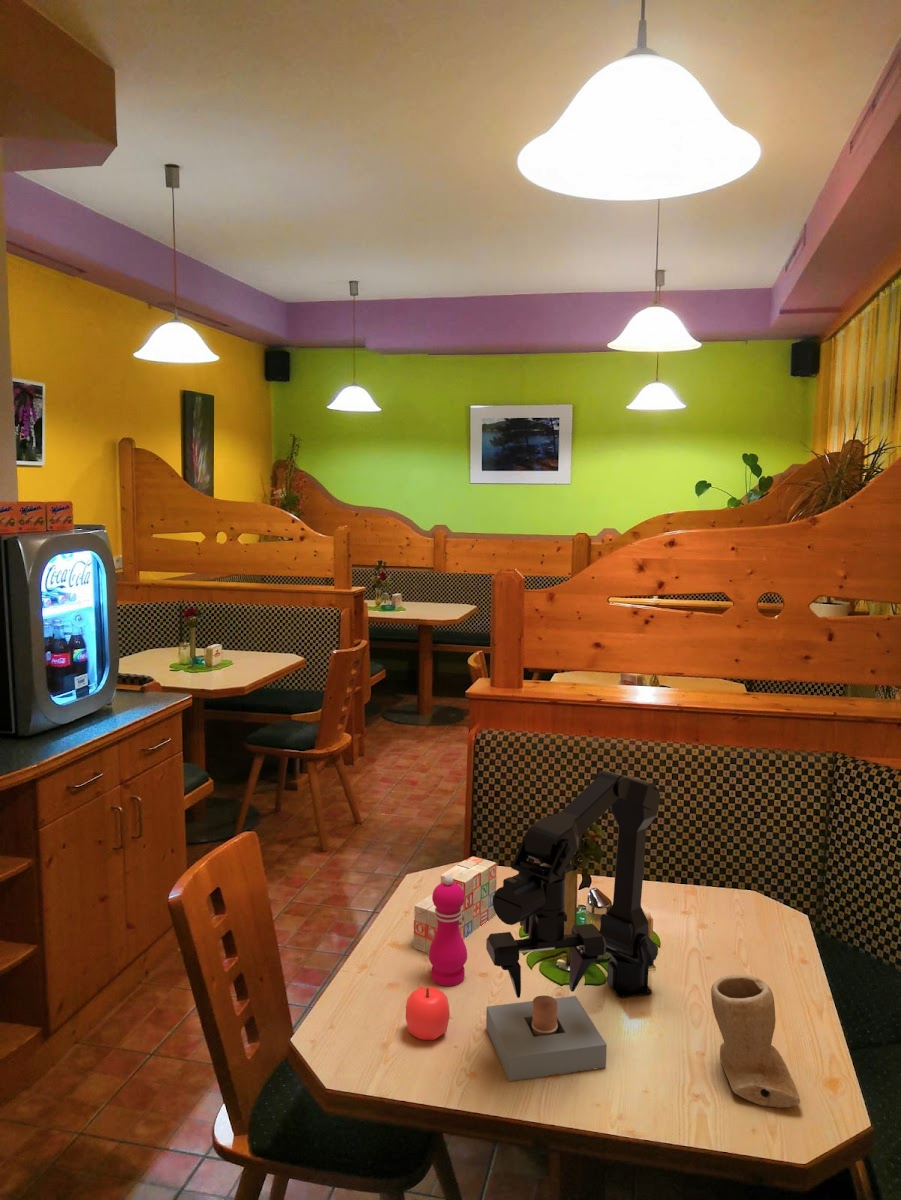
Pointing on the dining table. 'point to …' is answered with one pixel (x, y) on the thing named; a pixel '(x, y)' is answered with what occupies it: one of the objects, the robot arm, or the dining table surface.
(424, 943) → the stack of blocks
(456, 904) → the pepper mill
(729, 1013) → the clay pipe bowl
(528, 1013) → the hole block
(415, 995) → the apple
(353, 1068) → the dining table surface
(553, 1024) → the peg
